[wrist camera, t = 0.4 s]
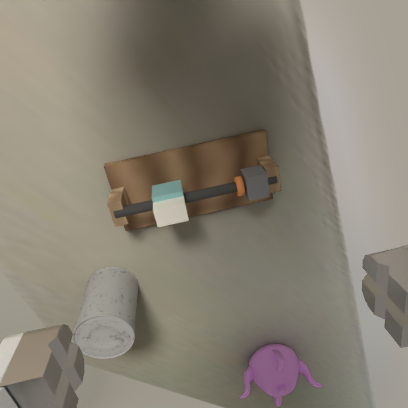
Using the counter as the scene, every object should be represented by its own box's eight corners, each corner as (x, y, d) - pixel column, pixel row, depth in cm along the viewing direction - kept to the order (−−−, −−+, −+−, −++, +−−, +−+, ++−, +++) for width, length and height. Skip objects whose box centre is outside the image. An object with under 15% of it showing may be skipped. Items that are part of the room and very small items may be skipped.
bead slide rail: (119, 218, 54) (117, 230, 50) (112, 196, 52) (109, 208, 48) (272, 184, 54) (280, 194, 51) (270, 162, 52) (278, 171, 49)
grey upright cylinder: (115, 313, 67) (107, 367, 56) (76, 288, 64) (59, 340, 53) (149, 285, 65) (147, 335, 54) (110, 257, 61) (100, 305, 50)
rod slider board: (126, 227, 59) (122, 248, 53) (104, 163, 54) (98, 179, 48) (270, 195, 60) (282, 212, 54) (264, 129, 54) (276, 140, 48)
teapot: (307, 352, 80) (323, 387, 72) (263, 384, 83) (274, 420, 75) (277, 329, 75) (291, 364, 67) (231, 364, 78) (239, 400, 70)
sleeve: (158, 210, 54) (159, 232, 48) (152, 185, 52) (151, 205, 46) (186, 204, 54) (189, 225, 48) (180, 179, 52) (183, 198, 46)
